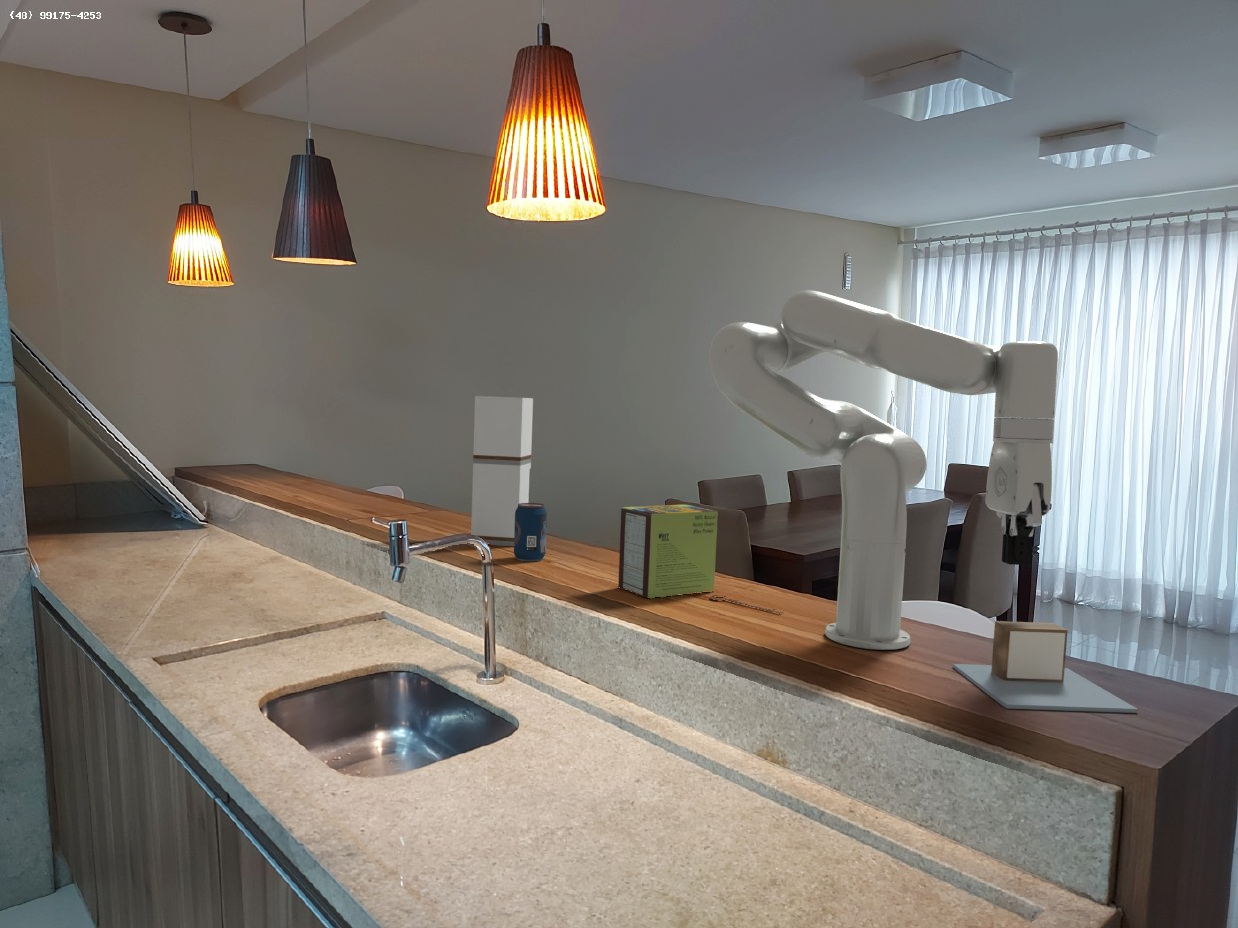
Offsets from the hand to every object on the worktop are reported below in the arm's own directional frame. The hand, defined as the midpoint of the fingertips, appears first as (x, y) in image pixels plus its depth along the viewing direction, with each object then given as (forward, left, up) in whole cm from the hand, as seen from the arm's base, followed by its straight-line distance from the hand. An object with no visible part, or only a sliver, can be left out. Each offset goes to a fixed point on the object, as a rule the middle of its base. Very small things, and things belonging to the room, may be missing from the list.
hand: (1015, 563), depth 119 cm
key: (-32, -31, -15) cm, 47 cm away
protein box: (-42, -45, -15) cm, 63 cm away
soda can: (-68, -73, -15) cm, 101 cm away
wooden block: (+6, 0, -14) cm, 16 cm away
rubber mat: (+9, 0, -15) cm, 17 cm away
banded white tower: (-89, -82, -15) cm, 122 cm away
